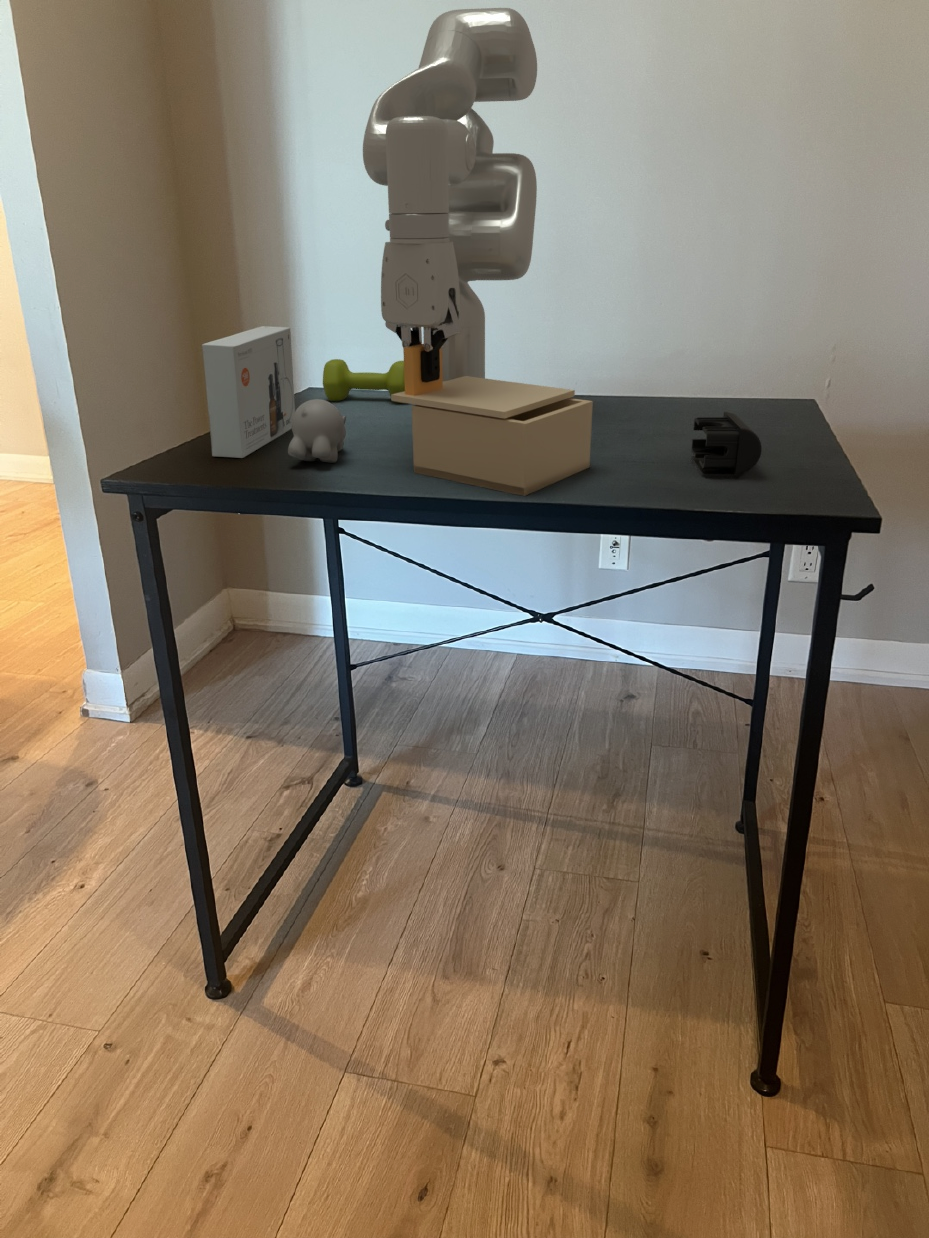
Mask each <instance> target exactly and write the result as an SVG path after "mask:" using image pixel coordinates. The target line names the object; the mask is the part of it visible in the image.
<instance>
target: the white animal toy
mask: <svg viewBox="0 0 929 1238" xmlns="http://www.w3.org/2000/svg"><path fill="white" fill-rule="evenodd" d="M346 421H347V415H343V416H342V414H341V412H340V410H339V409H338V408H337V407H336V405H334V404H332V403H331V401H330V402H329V400H328V401H327V400H325V399H321V398H319V399H318V398H316V399H315V398H314V399H309V400H307V401H305V402H303V403H301V404H300V405H299V406H298V407H297V408H295V413H294V415H293V418H292V429H291V431H292V434H293V437H292V439H291V440H290V442H289V444H288V447H287V453H288V455H289V456H291V457H294V458H297V459H299V460H302V461H304V462H305V461H306V462H315V461H316V458H318V459H319V461H321V462H323V463H329V464H333V463H334V464H335V463H336V462H337V461H338V457H339V456H338V455H339V453H338V452H340V451H341V450H343V448H344V446H345V439H346V435H347V429H346V427H345V423H346Z"/></svg>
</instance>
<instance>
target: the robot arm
mask: <svg viewBox="0 0 929 1238" xmlns="http://www.w3.org/2000/svg"><path fill="white" fill-rule="evenodd" d="M430 25H431V26H430V27H429V30H428V33H427V36H426V40H425V42H424V43H425V44H424V47H423V50H422V54H421V57H420V61H419V65H418V68H417V69H415V70H413V71H411V72H410V73H408V74H407V75H405V76H404V77H402V78H400V79H399V80H398V81H396V82H394V83H393V84H391V85H390V86H389V87H387V88H386V89H385V90H384V91H383V92H381V93H380V94H379V96H378V97H377V98H376V100H375V101H374V102H373V105H372V108H371V110H370V113H369V116H368V120H367V123H366V127H365V129H364V135H363V141H362V160H363V165H364V168H365V169H364V170H365V171H366V173H367V175H368V176H369V178H370V179H371V180H372V181H373V182H374V183H375V184H378V185H380V186H386V187H387V197H388V198H387V200H388V203H387V204H388V219H387V220H386V221H385V223H384V227H385V230H386V231H387V232H389V241H386V242H384V248H383V252H382V253H383V254H382V261H381V273H380V275H381V276H380V308H381V310H380V311H381V316H382V319H383V321H384V322H385V323H384V325H385V327H386V328H387V329H388V330H389V331H391V332H393V333H395V334H396V336H397V337H398V338H399V339H400V341H401V347H402V349H403V348H404V347H409V346H414V345H419V344H424V350H425V351H421V380H422V382H426V383H427V382H431V381H435V380H438V379H439V378H440V350H439V349H442V378H443V382H444V381H448V380H452V379H456V378H460V377H464V376H470V377H477V378H485V379H486V313H485V308H484V306H483V303H482V301H481V300H480V298H479V296H478V295H477V294H476V293H475V291H474V290H473V288H472V287H471V286H470V285H469V282H475V281H515V280H519V279H521V278H523V277H524V276H525V275H526V274H527V272H528V270H529V268H530V266H531V265H530V264H531V261H532V253H533V247H534V246H533V245H534V232H535V231H534V230H535V220H536V209H537V193H538V192H537V191H538V189H537V186H538V184H537V183H538V182H537V173H536V170H535V167H534V164H533V162H532V160H530V158H528V157H527V156H525V155H524V154H520V153H512V152H511V153H510V152H508V153H507V152H503V153H501V152H500V153H498V152H496V153H495V152H494V153H493V150H494V144H495V143H494V136H493V135H494V134H493V133H492V131H491V129H490V128H489V126H488V125H487V123H486V122H485V120H484V119H483V118H482V117H481V116H480V115H479V113H477V111H475V110H474V108H473V105H474V103H481V102H482V103H483V102H488V103H489V102H517V101H518V102H519V101H523V100H526V99H527V98H529V96H531V95H532V93H533V92H534V89H535V87H536V83H537V77H538V76H537V75H538V59H537V58H538V57H537V52H536V48H535V44H534V41H533V37H532V35H531V32H530V28H529V26H528V24H527V21H526V20H525V18H524V17H523V16H522V14H521V13H520V12H519V11H517V10H515V9H514V8H510V7H490V8H486V7H485V8H462V9H461V8H460V9H452V10H448V11H446V12H443V13H441V14H440V15H439V16H438V17H436V18H435V19H434V21H433V22H432V24H430ZM422 328H423V330H422ZM422 331H423V336H422Z"/></svg>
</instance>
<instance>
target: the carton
mask: <svg viewBox="0 0 929 1238" xmlns="http://www.w3.org/2000/svg"><path fill="white" fill-rule="evenodd" d="M593 403H594V401H592V400H588V399H587V400H586V399H580V398H579V399H578V398H573V397H570V398H567V399H564V400H561V401H558V402H555V403H552V404H548V405H545V406H542V407H539V408H536V409H533V410H530V411H527V412H524V413H520V414H517V415H514V416H511V417H508V418H505V419H504V418H498V417H491V416H485V415H479V414H472V413H466V412H460V411H453V410H447V409H441V408H435V407H428V406H422V405H416V404H412V405H411V424H412V426H411V427H412V454H413V458H412V459H413V473H415V474H420V475H425V476H428V477H433V478H436V479H437V478H438V479H443V480H448V481H452V482H456V483H462V484H467V485H471V486H476V487H481V488H483V489H484V488H485V489H490V490H493V491H494V490H495V491H499V492H503V493H508V494H513V495H517V496H521V497H522V496H523V497H525V496H527V495H530V494H532V493H535V492H537V491H538V490H541V489H543V488H545V487H549V486H550V485H553V484H555V483H557V482H560V481H562V480H564V479H566V478H568V477H570V476H573V475H575V474H577V473H579V472H582V471H584V470H586V469H588V468H590V462H591V444H592V443H591V442H592V424H593Z"/></svg>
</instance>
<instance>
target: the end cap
mask: <svg viewBox="0 0 929 1238" xmlns="http://www.w3.org/2000/svg"><path fill="white" fill-rule="evenodd" d="M693 431H702V432H703V433H704V435H706V438H692V439H691V448H690V449H691V453H692V456H691V458H690V461H691V460H692V461H691V463H692V462H693V463H692V464H693V466H694V467H695V466H696V467H695V469H696V468H697V469H696V470H697V471H699V472H700V473H699V472H698V473H699V474H701V475H700V476H701V478H703V477H705V479H737V478H740V477H742V476H743V475H745V473H748V471H751V470H752V469H753V468H754V467H755V466H756V465H757V463H758V462H759V460H760V458H761V455H762V441H761V440H760V437H758V435H757V434H756V433H755V431H753V430H752V429H751V428H750V427H749V426H748V425H747V424H746V423H745V422H744V421H743V420H742V419H741V418H740V417H739V416H738V415H736V414H735V413H731V412H728V411H723V417H719V416H717V417H716V416H710V417H709V416H707V417H706V416H704V417H702V416H700V417H699V416H698V417H695V418H694V421H693ZM736 477H737V478H736Z"/></svg>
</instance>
